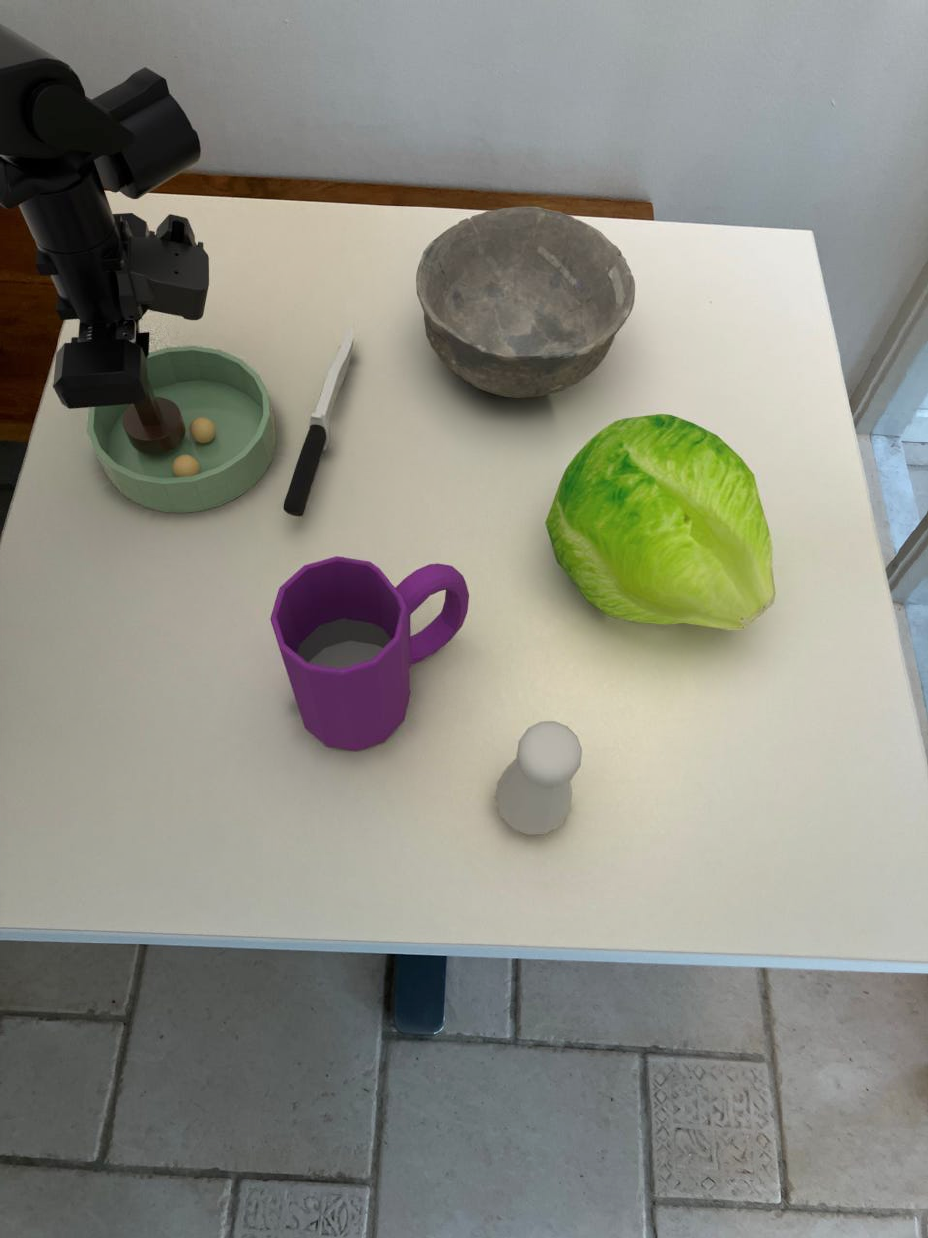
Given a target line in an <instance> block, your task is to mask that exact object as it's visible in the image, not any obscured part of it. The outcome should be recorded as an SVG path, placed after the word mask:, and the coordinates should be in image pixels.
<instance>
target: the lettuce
mask: <svg viewBox="0 0 928 1238" xmlns="http://www.w3.org/2000/svg"><path fill="white" fill-rule="evenodd" d="M756 481H757V480H756V476H755V474H754V473H753V471H752V470H751V469H750V467H749V466H748V465H747V463H746V462H745V460H744V459H743V458H742V457H741V456H740V455H739V454H738V453H737V452H736V451H735V450H734V449H732V448H731V447H730V445H728V443H726V442H725V441H724V440H723V439H722V438H720V437H719V436H718V435H717V434H715V433H713V432H711V431H709V430H707V429H706V428H704V427H702V426H700V425H698V424H696V423H694V422H691V421H689V420H686V419H684V418H680V417H678V416H675V415H672V414H667V413H666V414H665V413H657V414H650V415H641V416H634V417H625V418H620V419H618V420H615V421H613V422H612V423H610V424H608V425H607V426H605V427H603V428H602V429H601V430H600V431H599V432H597V434H595V435H594V436H593V437H592V438H591V439H589V440H588V442H586V444H585V445H583V447H582V448H580V450H579V451H578V452H577V453H576V454H575V456H574V457H573V459H572V460H571V461H570V462H569V464H568V465H567V467H566V468H565V470H564V471H563V475H562V477H561V479H560V481H559V484H558V487H557V490H556V493H555V495H554V497H553V501H552V503H551V506H550V509H549V511H548V513H547V516H546V520H545V523H544V524H545V527H546V531H547V534H548V537H549V540H550V544H551V547H552V550H553V553H554V556H555V557H554V558H555V560H556V564H558V565H559V567H560V568H561V569H562V570H563V571H564V572H565V573H566V574H567V576H568V577H569V579H571V580H572V582H573V583H574V584H575V586H576V587H577V588H578V590H579V591H580V593H582V595H583V596H584V597H585V599H586V601H588V602H589V603H590V604H592V605H593V606H594V607H595V608H597V609H599V610H600V611H601V612H603V613H604V614H606V615H608V616H610V617H614V618H618V619H623V620H627V621H631V622H636V623H644V624H645V623H646V624H656V625H676V624H690V625H696V626H702V627H709V628H714V629H722V630H728V631H741V630H746V629H747V628H748V627H750V626H751V625H752V624H753V623H754V622H755V621H756V620H757V619H759V618H760V617H761V616H762V615H763V614H764V613H765V612H766V611H768V609H770V608H771V607H772V606H773V605H774V604H775V598H776V587H775V580H774V579H775V578H774V573H773V572H774V571H773V551H774V550H773V549H774V548H773V543H772V538H771V533H770V529H769V525H768V521H767V518H766V515H765V512H764V509H763V505H762V501H761V497H760V493H759V490H758V486H757V482H756Z"/></svg>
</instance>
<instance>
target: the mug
mask: <svg viewBox="0 0 928 1238" xmlns="http://www.w3.org/2000/svg"><path fill="white" fill-rule="evenodd" d="M443 591H445V595H444V602H443V604H442V608H441V612H440V613H439V614H438V615H437V616H436V617H435V618H434V619H433V620H432V621H431V622H430V623H429V624H427V626H425V627H424V628H423V629H422V630H420V631H419V632H417V633H415V634H413V635H412V633H411V632H412V631H411V629H412V628H411V627H412V625H411V622H412V621H411V615H412V614H413V613H414V612H415V611H416V610H417V609H419V607H420V606H421V605H423V603H425V602H426V600H427V599H429V597H430V596H432V595H435V594H437V593H439V592H443ZM469 600H470V593H469V589H468V584H467V582H466V579H465V576H464V575H463V574H462V573H461V572H460V571H459V570H458V569H456V568H455V567H454V566H453V565H450V564H445V563H444V564H443V563H429V564H427V565H425V566H422V567H419V568H418V569H416V570H414V571H413V572H412V573H410V574H409V575H407V576H406V577H405V578H404V579H402V581H400V582H399V583H398V584H397V585H396V586H394V585H393V583H392V582H391V581H390V579H389V578H388V576H387V575H386V574H385V573H384V572H383V571H382V569H381V568H380V567H379V566H377V565H376V564H374V563H373V562H372V561H369V560H363V559H356V558H350V557H344V556H338V555H336V556H333V557H328V558H326V559H322V560H317V561H314V562H312V563H308V564H304V565H303V566H302V567H301V568H299V570H296V572H295V573H294V574H293V575H292V576H291V577H289V578H288V579H287V580H286V581H285V582H284V583H282V585H281V586H280V587H279V588H278V591H277V593H276V597H275V601H274V604H273V608H272V612H271V614H270V623H271V627H272V629H273V632H274V635H275V640H276V642H277V646H278V649H279V651H280V655H281V658H282V661H283V664H284V667H285V670H286V673H287V677H288V679H289V682H290V686H291V689H292V692H293V695H294V698H295V701H296V705H297V708H298V711H299V714H300V718H301V720H302V724H303V727H304V729H306V730H307V731H308V732H309V733H310V734H312V735H313V736H314V737H315V738H316V739H317V740H318V741H320V742H321V743H322V744H324V745H325V746H326V747H328V748H329V747H330V748H334V749H340V750H347V751H352V752H358V751H361V750H364V749H367V748H370V747H373V746H376V745H379V744H382V743H385V742H386V741H387V740H388V739H389V737H390V736H391V735H393V733H394V732H395V731H396V730H397V729H398V728H399V727H400V726H401V724H403V722H404V721H405V719H406V714H407V710H408V705H409V701H410V696H411V685H410V683H411V682H410V680H411V679H410V668H411V667H412V666H413V665H415V664H418V663H421V662H423V661H425V660H426V659H428V658H430V657H431V656H433V655H435V654H436V653H438V652H439V651H440V650H441V649H443V648H444V646H446V645H447V644H448V643H450V642H451V641H452V640H453V638H454V637H455V636H456V634H457V633H458V632H459V631H460V629H461V628H462V627H463V625H464V622H465V620H466V618H467V615H468V611H469V603H470V602H469Z"/></svg>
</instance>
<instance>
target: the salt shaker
mask: <svg viewBox="0 0 928 1238" xmlns="http://www.w3.org/2000/svg"><path fill="white" fill-rule="evenodd" d="M582 755H583V747H582V745H581V742H580V739H579V737H578V735H577V734H576V733H575V732H574V731H573V730H572V729H571V728H570V727H569V726H567V725H565V724H563V723H561V722H558V721H555V720H547V721H539V722H537V723H536V724H533V725H532V726H530V727H529V726H528V728H527V729H526V730H525V732H524V733H523V735H522V736H521V738H519V740H518V744H517V750H516V758H515V759H513V761H512V762H511V763H509V765H507V766H506V768H505V769H504V771H503V772H502V773H501V775H500V776H499V778H498V779H497V782H496V788H495V793H494V799H495V803H496V805H497V807H498V808H497V809H498V811H499V814H500V817H501V818H502V819H503V820H504V821H505V822H506V823H507V824H508V825H509V826H510V828H511V829H512V830H515V831H518V832H521V833H523V834H526V835H528V836H529V835H530V836H531V835H546V834H548V833H549V832H551V831H553V830H555V829H556V828H558V827H560V826H561V825H562V824H563V823H564V821H565V819H566V818H567V816H568V815H569V813H570V812H571V808H572V798H573V790H572V782H571V780H573V778H574V776H575V775H576V773H577V772H578V771H579V769H581V765H582V757H583V756H582Z"/></svg>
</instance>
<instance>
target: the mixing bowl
mask: <svg viewBox="0 0 928 1238" xmlns="http://www.w3.org/2000/svg"><path fill="white" fill-rule="evenodd" d="M146 365H147V371H148V380H149V382H150V385H151V387H152V390H153V393H154V395H155V397H162V398H166V399H169V400H171V401H172V402H174V403H175V404H176V405H177V406H178V408H179V410H180V412H181V415H182V418H183V421H184V424H185V428H186V432H185V436H184V438H183V440H182V441H181V443H180V444H179V445H178V446H177V447H175V448H174V449H172V450H170V451H168V452H165V453H162V454H146V453H142V452H140V451H138V450H137V449H135V448H134V447H133V446H132V445H131V443H130V441H129V439H128V436H127V434H126V432H125V430H124V427H123V422H122V421H123V416H124V413H125V412H126V410H127V409H128V408H129V407H130V406H131V405H132V404H126V405H113V406H100V407H88V408H87V420H86V421H87V422H86V432H87V435H88V437H89V440H90V443H91V446H92V448H93V451H94V452H95V455H96V456H97V459H98V460H99V463H100V464H101V466H102V468H103V470H104V472H105V475H106V476H107V478H108V479H109V481H111V484H113V485H114V487H115V488H116V489H117V490H118V491H119V492H120V493H121V494H122V495H123V496H124V497H126V498H128V499H129V500H130V501H132V502H134V503H135V504H137V505H140V506H142V507H145V508H148V509H151V510H154V511H158V512H164V513H175V514H184V513H185V514H187V513H196V512H202V511H207V510H210V509H214V508H217V507H220V506H223V505H225V504H227V503H229V502H231V501H234V500H235V499H237V498H238V497H239V498H240V496H242V495H244V494H245V493H246V492H248V491H249V490H250V489H251V488H252V487H254V486H255V485H256V484H257V483H258V482H259V481H260V480H261V478H263V476H264V475H265V473H266V472H267V471H268V468H269V467H270V465H271V463H272V461H273V458H274V455H275V452H276V447H277V430H276V421H275V417H274V411H273V407H272V404H271V403H272V402H271V399H270V394H269V391H268V389H267V387H266V386H265V384H264V382H263V380H262V377H261V376H260V374H259V373H258V372H256V371H255V370H254V369H253V368H252V367H251V366H250V365H248V363H246V362H245V361H244V359H242V358H239V357H237V356H235V355H232V354H230V353H228V352H227V351H223V350H222V349H216V348H209V347H203V346H197V345H186V346H185V345H184V346H171V347H170V346H169V347H164V348H162V349H161V348H160V349H158V350H153V351H151V352H149V355H148V357H147V359H146ZM199 417H205V418H208V419H210V420H211V421H212V422H213V423H214V425H215V427H216V435H215V437H214V439H213V440H212V441H210V442H208V443H199V442H197V441H195V440H194V439H193V438H192V437H191V435H190V431H189V428H190V424H191V423H192V421H193V420H195V419H196V418H199ZM181 455H190V456H192V457H194V458H195V459H196V460H197V461H198V463H199V466H200V472H199V474H197V475H194V476H187V477H176V476H175V474H174V472H173V468H172V466H173V462H174V460H175V459H176V458H177V457H179V456H181Z"/></svg>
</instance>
